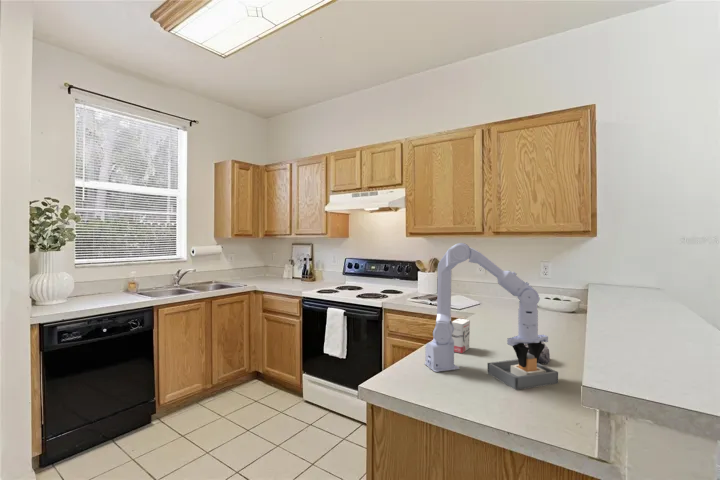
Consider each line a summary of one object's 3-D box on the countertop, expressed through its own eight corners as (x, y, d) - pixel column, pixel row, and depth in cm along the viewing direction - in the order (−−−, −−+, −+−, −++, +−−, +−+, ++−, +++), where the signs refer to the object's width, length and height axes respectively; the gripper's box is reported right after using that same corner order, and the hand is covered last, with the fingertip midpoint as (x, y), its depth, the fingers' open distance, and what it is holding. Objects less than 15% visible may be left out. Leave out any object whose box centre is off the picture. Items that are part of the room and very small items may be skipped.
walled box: (515, 389, 101) (515, 378, 101) (487, 373, 113) (487, 362, 113) (558, 383, 106) (558, 372, 105) (526, 368, 118) (526, 358, 118)
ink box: (462, 354, 132) (462, 323, 132) (450, 351, 135) (450, 321, 135) (470, 348, 139) (470, 319, 139) (458, 346, 142) (458, 317, 142)
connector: (527, 376, 108) (527, 357, 108) (518, 372, 112) (518, 353, 112) (536, 375, 109) (536, 356, 109) (527, 371, 113) (527, 352, 113)
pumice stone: (526, 371, 121) (555, 365, 119) (520, 350, 121) (549, 344, 120) (518, 360, 131) (545, 354, 130) (513, 340, 132) (539, 335, 130)
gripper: (518, 328, 104) (518, 372, 104) (556, 325, 108) (555, 367, 108) (502, 323, 111) (502, 364, 111) (538, 320, 115) (538, 359, 115)
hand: (527, 365), depth 110 cm, fingers open, 4 cm apart
